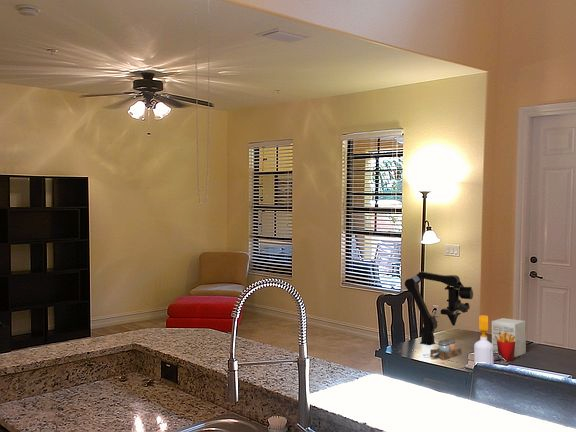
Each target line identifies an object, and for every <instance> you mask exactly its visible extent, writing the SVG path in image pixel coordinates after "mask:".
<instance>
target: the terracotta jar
mask: <svg viewBox="0 0 576 432" xmlns="http://www.w3.org/2000/svg"><path fill="white" fill-rule="evenodd" d="M444 340H446V341H449V342H450V351H453V350H456V340H455V339H453V338H445V339H444Z"/></svg>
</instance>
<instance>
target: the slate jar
mask: <svg viewBox="0 0 576 432" xmlns="http://www.w3.org/2000/svg"><path fill="white" fill-rule="evenodd" d="M438 348H439V350H441V351H446V353H447V352H450V342H449V341H446V340H445V339H443V340H439V341H438Z"/></svg>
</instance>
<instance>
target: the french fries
mask: <svg viewBox="0 0 576 432" xmlns="http://www.w3.org/2000/svg"><path fill="white" fill-rule="evenodd" d="M506 336H508V338H507V339H506ZM511 336H512V334H510V337H509V334H508V333H507V332H505V333H504V334H502V336H501V331H499V338H500V340H499V339H498V338H497V336H496V335H495V338H496V339H497V340H498V341H497V348H498V354H499V355H501V356H502V357H503V358H504V359H505V360H507V361H511V362H514V358H515V357H514V350H515V342H514V339H515V336H513V337H512V338H511ZM498 354H497V355H498Z"/></svg>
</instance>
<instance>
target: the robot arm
mask: <svg viewBox="0 0 576 432" xmlns="http://www.w3.org/2000/svg"><path fill="white" fill-rule="evenodd" d="M423 280H427V281H428V280H429V281H434V282H438V283H442V284H444V285H446V286H445V288H444V290H445V291H446V290H447V291H448V292H447V295H448V299H446V302H447V307H446V308H442V309H440V315H445V316H447V318H448V319H449V322H450V323H451V326H456V323H457V319H458V317H459V316H460V315H461V314H462V313H464V314H465V313H468V311H469V310H470V309H471V308H470V303H468V302H465V303H462V302H461V301H462V300H461V299H464V300H473V298H474V292H473V288H472V286H464V284H463V283H462V282H461V278H460V277H459V276H458V275H455V274H450V275H448V274H447V275H443V274H439V273H438V274H437V273H433V272H427V271H423V270H422V271H418V273H416V275H414V276H412V277H411V278H408V279H406V280H405V282H404V286H405V288H406V289H407V291H408V292H409V293H410V294H411V296H412V298H413V299H414V302H415V303H416V307H417V309H418V311H419V312H420V315H421V316H422V325H423V327H422V328H421V329H420V330H419V333H420V336H421V337H420V339H421V341H420V342H419V344H423V345H427V346H431V345H434V344H436V342H435V336H434V335H435V334H434V332H435V330H436V329H437V328H438V320H437V319H436V316H435V315H433V316H432V314H430V311H429V309H428V308H427V305H426V303H425V300H424V298H423V297H422V294H421V292H420V285H419V284H420V282H421V281H423Z"/></svg>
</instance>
